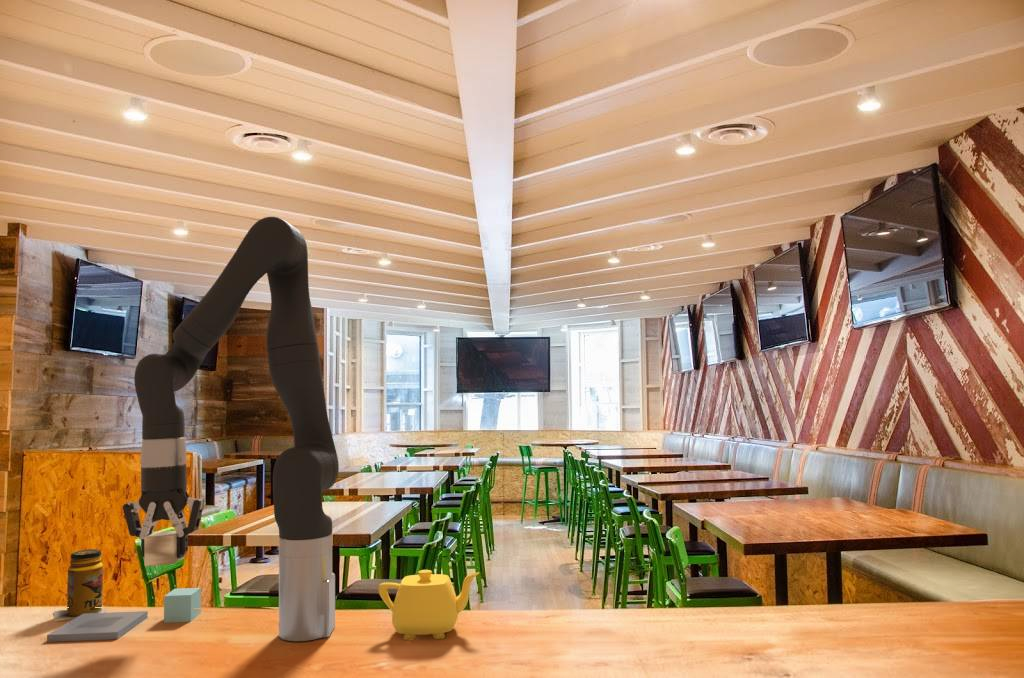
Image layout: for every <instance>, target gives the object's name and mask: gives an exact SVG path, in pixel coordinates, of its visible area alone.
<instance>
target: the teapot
mask: <svg viewBox="0 0 1024 678" xmlns="http://www.w3.org/2000/svg"><path fill="white" fill-rule="evenodd" d="M417 573H418V574H412V575H406V576H404V577H403V578H402V580H401V581H400V583H397V582H382V583H380V584H378V588H377V589H378V594H379V596H380V598H381V599H382V601H383V602H384V603H385V605H386V606H387V607H388V608H389V610H390V611H391V612H392V615H391V616H392V617H391V621H392V622H391V623H392V625H393V629H394V630H395V631H396V633H398V634H403V635H404V636H403V640H404V641H412V640H416V638H417V636H418V635H419V636H420V635H421V636H422V635H425V636H426V635H432V638H433V639H434V640H442V639H445V638H446V634H445V633H449V632H451V631H452V630H453V629H454V627H455V625H456V622H457V621H458V617H459V614H460V613H461V612H463V610H464V609H465V608H466V606H467V605H468V602H469V596H470V590H471V589H470V588H471V584H472V582H473V580H474V578H476V577H477V576H478V575H479V574H480V572H479V571H478V572H474V573H469V574H468V575H466V577H465V578H463V582H462V587H461V591H460V593H459V594H458V595H457V594H456V591H455V588H454V586H453V583H452V580H451V579H450V577H449V575H448V574H442V573H441V574H440V573H439V574H437V573H436V574H435V573H434V574H433V571H432V570H430V569H420V570H418V572H417ZM388 589H397V592H396V595H395V598H394V602H393V601H392V600H391V598H390V595H389V592H388V591H389V590H388Z"/></svg>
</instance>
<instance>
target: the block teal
mask: <svg viewBox="0 0 1024 678" xmlns="http://www.w3.org/2000/svg"><path fill="white" fill-rule="evenodd" d="M194 608H201V609H194ZM201 614H202V587H188V588H186V587H183V588H173V589H172V590H171V591H169V592H168V593H167V594H165V595H163V623H164V624H165V623H186V622H189V623H190V622H192V621H194V620H195V619H196V618H198V617H199V616H200V615H201Z"/></svg>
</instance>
